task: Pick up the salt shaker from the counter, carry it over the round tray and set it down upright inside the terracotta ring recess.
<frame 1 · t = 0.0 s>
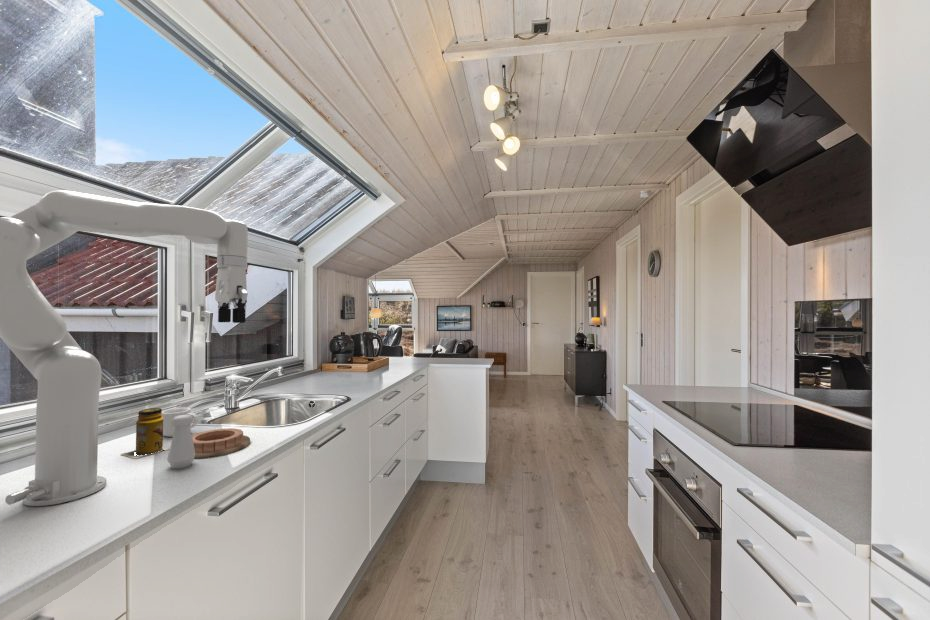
hand: (231, 322, 110), 37 cm above the countertop, tool pointing down, fingers open, 9 cm apart
round tray: (215, 447, 113), on the countertop
condiment: (145, 453, 109), on the countertop
cup: (179, 435, 125), on the countertop
salt shaker: (181, 466, 99), on the countertop
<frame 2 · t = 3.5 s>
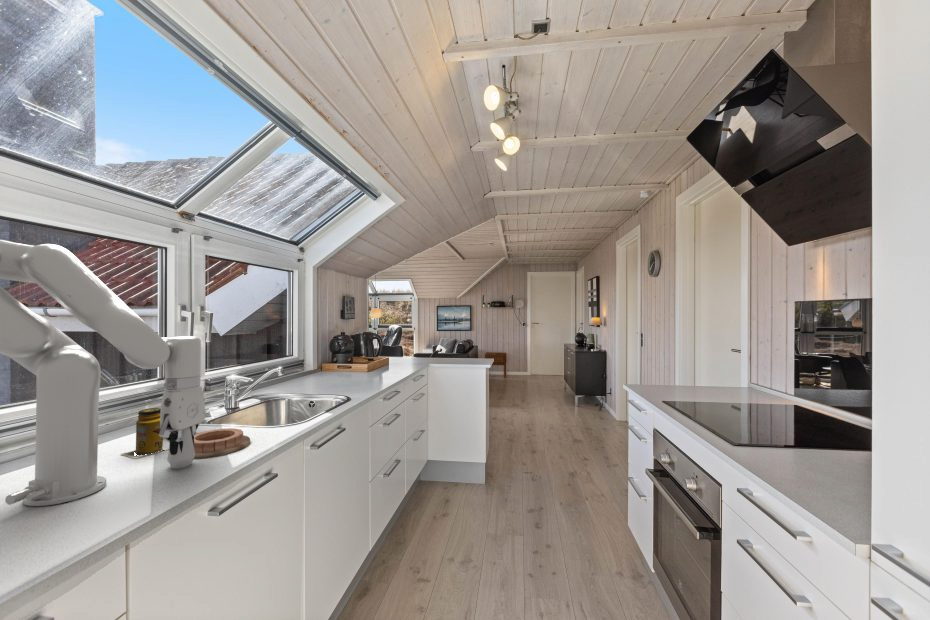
hand: (181, 453, 99), 3 cm above the countertop, tool pointing down, fingers closed on salt shaker, 3 cm apart
salt shaker: (181, 466, 99), on the countertop, touching gripper
everything else where it was.
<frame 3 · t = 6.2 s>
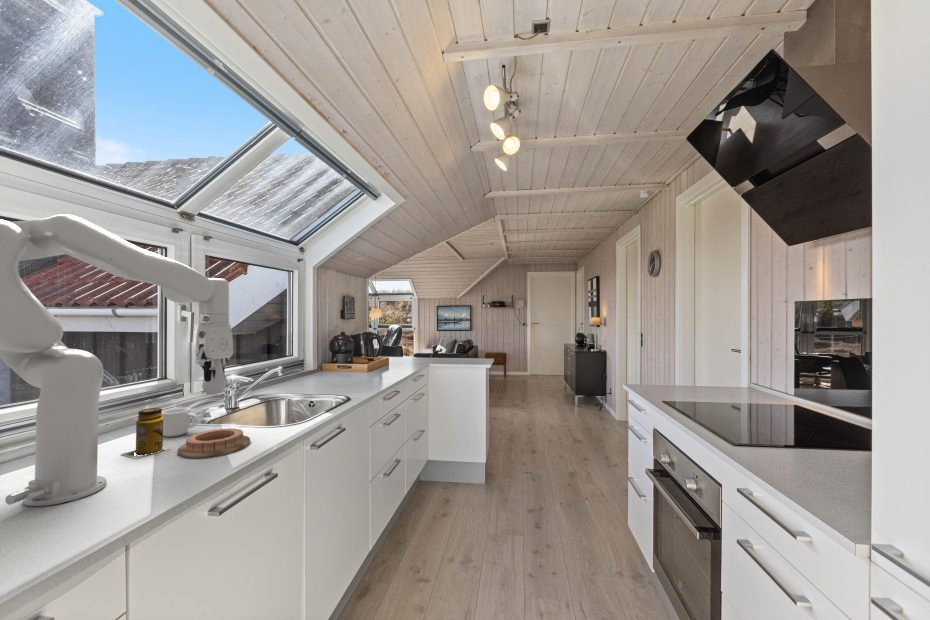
hand: (214, 381, 112), 20 cm above the countertop, tool pointing down, fingers closed on salt shaker, 3 cm apart
salt shaker: (214, 393, 112), point 16 cm above the countertop, touching gripper
everything else where it was.
when the fingers open (6 cm above the countertop, at t = 9.1 s): salt shaker drops 2 cm, resting on round tray.
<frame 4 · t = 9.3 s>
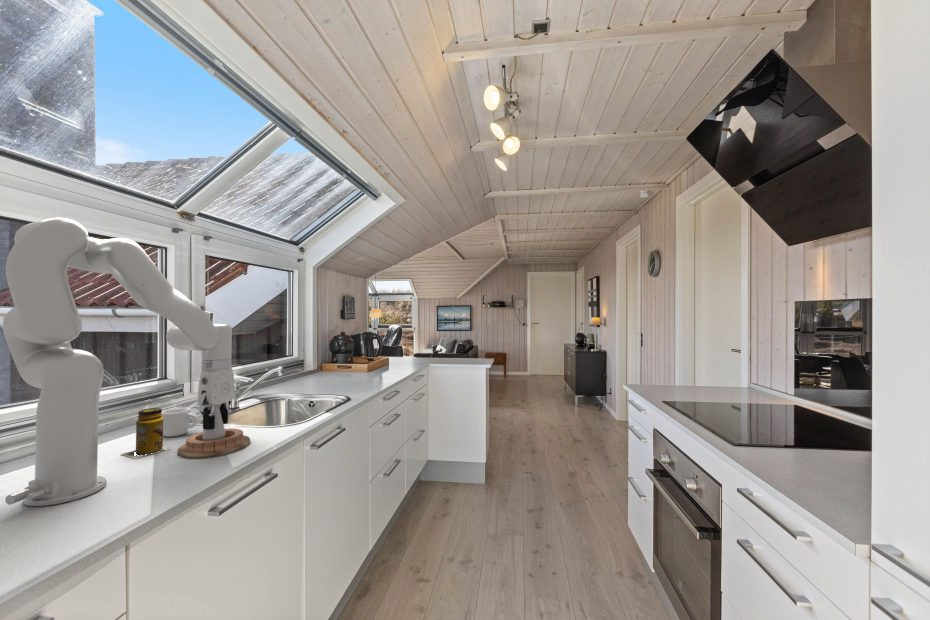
hand: (215, 425, 113), 6 cm above the countertop, tool pointing down, fingers open, 4 cm apart
salt shaker: (214, 444, 113), point 1 cm above the countertop, touching round tray
everything else where it was.
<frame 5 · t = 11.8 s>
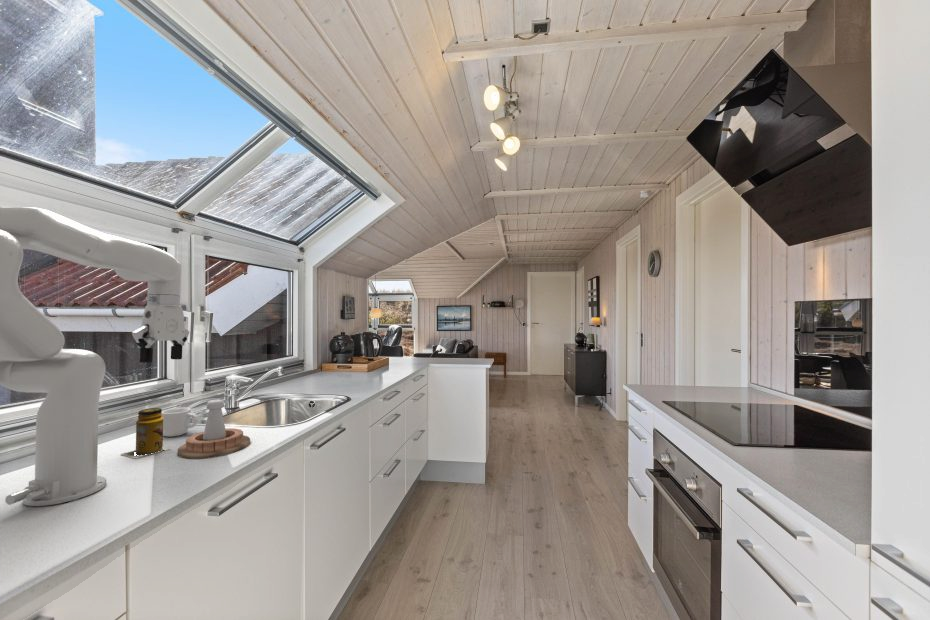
hand: (161, 360, 110), 26 cm above the countertop, tool pointing down, fingers open, 9 cm apart
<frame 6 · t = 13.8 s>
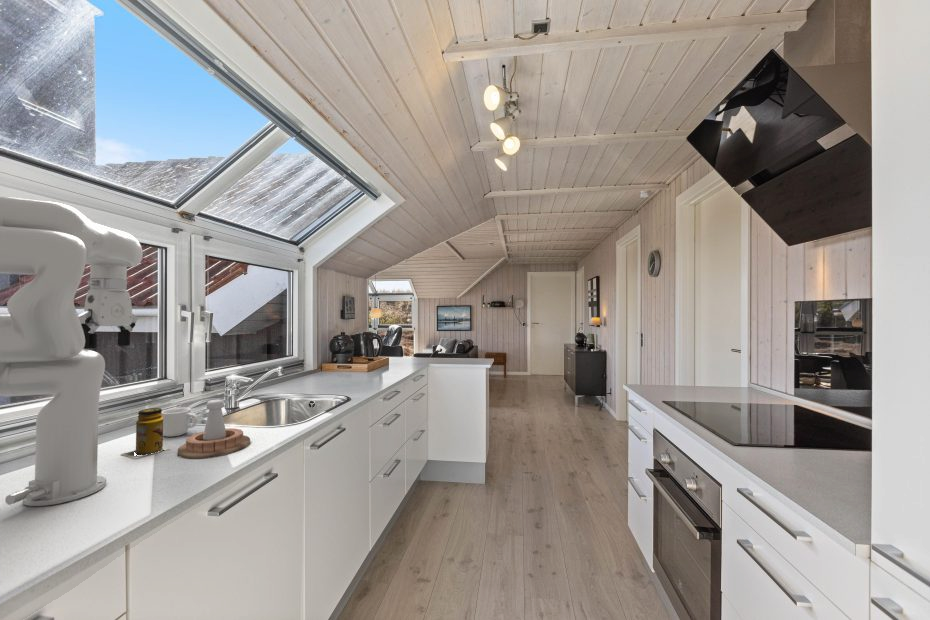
hand: (107, 346, 107), 30 cm above the countertop, tool pointing down, fingers open, 9 cm apart
nothing on the countertop moved.
at the end: salt shaker 0.3 cm off-centre on the round tray, point 0.8 cm above the round tray's base; salt shaker tilted 0°; the gripper is holding nothing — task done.
